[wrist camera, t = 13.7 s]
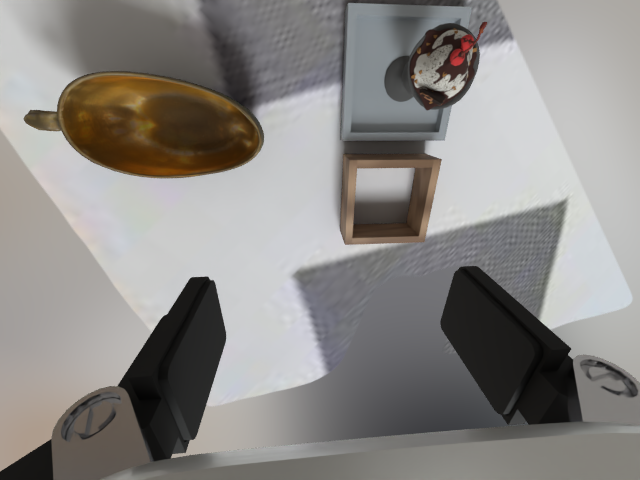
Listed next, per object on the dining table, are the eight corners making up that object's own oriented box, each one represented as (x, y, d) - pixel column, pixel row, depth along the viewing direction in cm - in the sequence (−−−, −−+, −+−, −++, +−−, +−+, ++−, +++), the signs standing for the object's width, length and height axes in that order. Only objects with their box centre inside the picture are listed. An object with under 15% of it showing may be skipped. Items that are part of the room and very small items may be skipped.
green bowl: (114, 14, 28) (32, -27, 20) (277, 122, 35) (270, 128, 26) (88, 123, 33) (11, 130, 24) (236, 200, 39) (218, 229, 30)
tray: (345, 9, 30) (348, 2, 28) (462, 12, 31) (472, 7, 29) (340, 139, 36) (342, 140, 34) (437, 138, 37) (444, 140, 35)
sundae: (418, 34, 31) (510, -24, 17) (436, 90, 34) (527, 78, 20) (368, 67, 32) (419, 37, 18) (390, 119, 35) (448, 125, 21)
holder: (343, 154, 37) (349, 160, 33) (424, 153, 38) (441, 159, 33) (340, 230, 42) (345, 244, 38) (411, 228, 43) (424, 242, 39)
